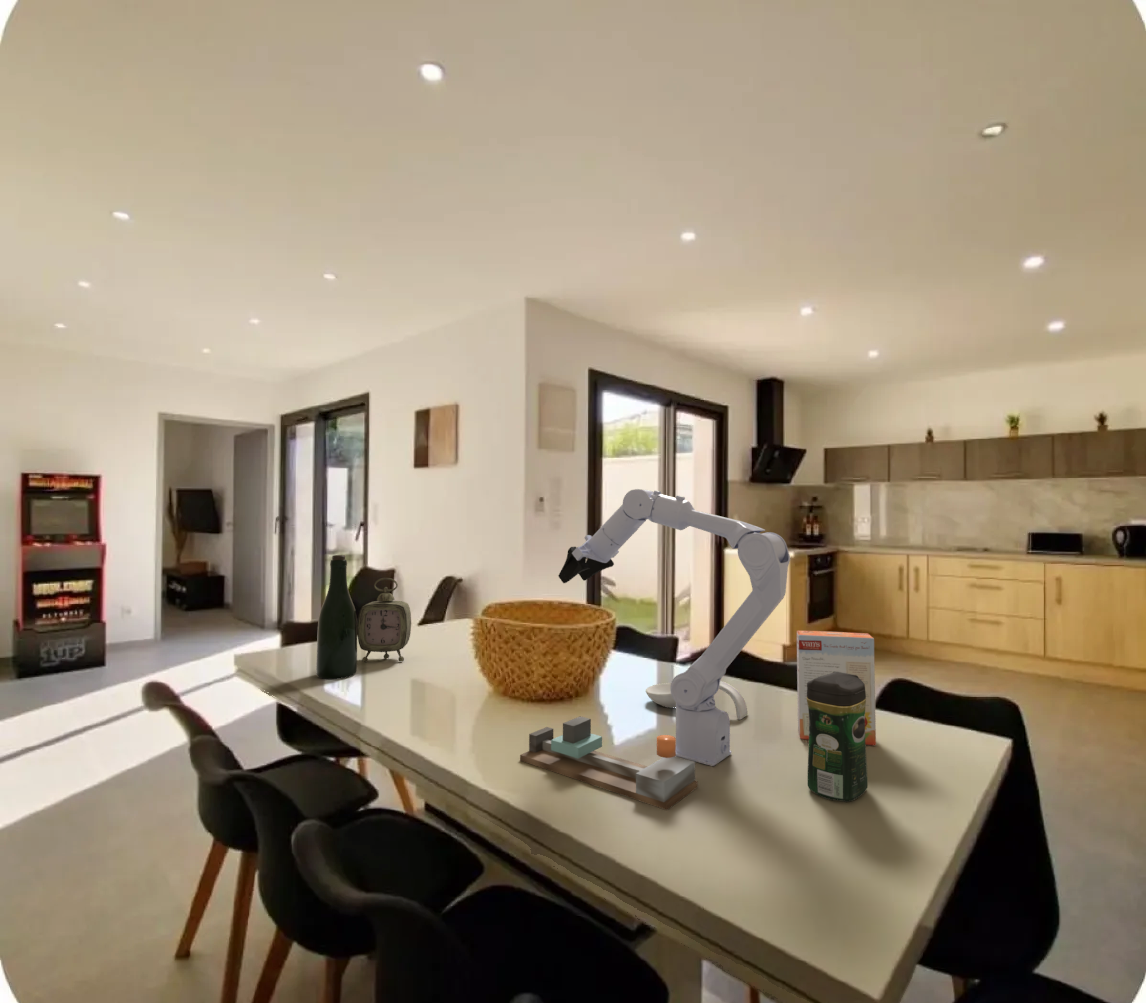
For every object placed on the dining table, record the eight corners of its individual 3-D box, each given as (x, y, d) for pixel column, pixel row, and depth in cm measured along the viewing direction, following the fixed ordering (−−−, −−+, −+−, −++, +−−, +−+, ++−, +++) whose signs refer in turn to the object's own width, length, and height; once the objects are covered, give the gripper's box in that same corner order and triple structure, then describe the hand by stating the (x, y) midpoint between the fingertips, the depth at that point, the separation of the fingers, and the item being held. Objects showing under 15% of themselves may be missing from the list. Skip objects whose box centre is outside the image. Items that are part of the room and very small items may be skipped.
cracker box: (870, 736, 124) (869, 632, 125) (876, 747, 118) (875, 637, 119) (796, 729, 128) (796, 628, 129) (799, 739, 122) (798, 633, 123)
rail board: (697, 787, 100) (697, 762, 100) (667, 810, 92) (667, 783, 92) (555, 744, 119) (555, 723, 119) (519, 760, 111) (519, 737, 111)
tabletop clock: (356, 664, 183) (358, 579, 183) (364, 657, 192) (365, 576, 192) (406, 663, 184) (407, 579, 184) (411, 656, 193) (413, 576, 193)
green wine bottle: (347, 680, 164) (349, 556, 165) (309, 679, 165) (311, 555, 166) (362, 670, 175) (364, 554, 176) (326, 670, 175) (328, 553, 176)
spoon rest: (637, 706, 144) (637, 675, 144) (659, 694, 154) (659, 665, 154) (736, 726, 131) (736, 692, 131) (753, 712, 141) (753, 680, 141)
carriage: (602, 746, 110) (602, 719, 110) (578, 758, 105) (578, 730, 105) (575, 739, 114) (575, 712, 114) (551, 750, 108) (551, 722, 109)
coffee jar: (825, 774, 105) (825, 665, 106) (874, 790, 100) (873, 674, 100) (798, 791, 99) (798, 675, 99) (848, 809, 93) (848, 685, 94)
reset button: (679, 753, 99) (679, 737, 99) (669, 759, 96) (669, 743, 96) (662, 749, 100) (662, 733, 100) (653, 754, 98) (653, 738, 98)
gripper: (618, 520, 133) (579, 562, 138) (582, 520, 121) (541, 565, 126) (638, 545, 130) (598, 586, 135) (603, 547, 118) (560, 592, 123)
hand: (571, 578), depth 131 cm, fingers open, 7 cm apart
